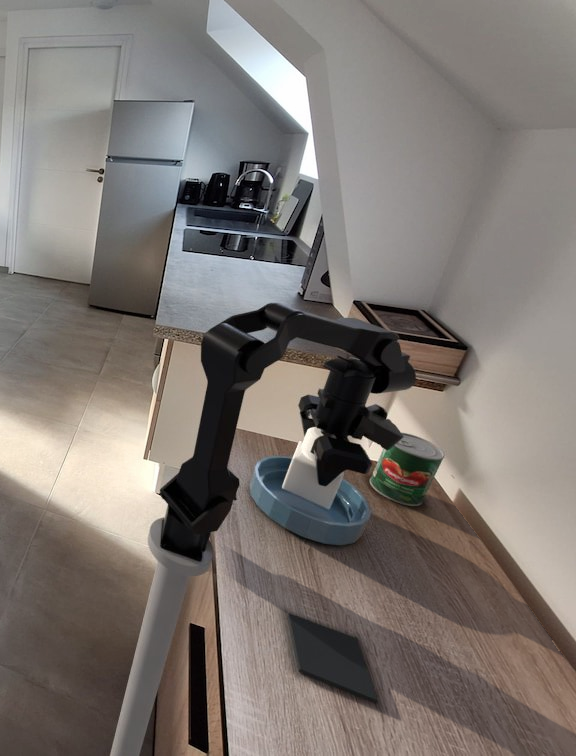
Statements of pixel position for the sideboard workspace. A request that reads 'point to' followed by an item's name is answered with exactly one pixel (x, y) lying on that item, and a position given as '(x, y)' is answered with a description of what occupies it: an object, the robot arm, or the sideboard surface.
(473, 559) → the sideboard surface
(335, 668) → the coaster
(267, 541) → the sideboard surface
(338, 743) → the sideboard surface
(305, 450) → the medicine bottle
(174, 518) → the robot arm
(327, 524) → the blue saucer dish
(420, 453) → the canned tomato
